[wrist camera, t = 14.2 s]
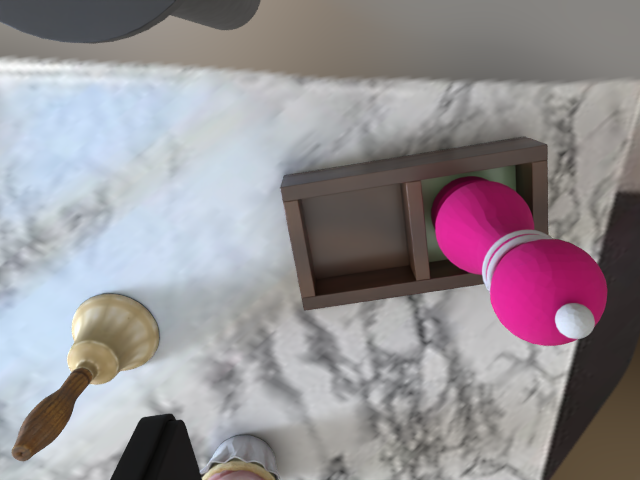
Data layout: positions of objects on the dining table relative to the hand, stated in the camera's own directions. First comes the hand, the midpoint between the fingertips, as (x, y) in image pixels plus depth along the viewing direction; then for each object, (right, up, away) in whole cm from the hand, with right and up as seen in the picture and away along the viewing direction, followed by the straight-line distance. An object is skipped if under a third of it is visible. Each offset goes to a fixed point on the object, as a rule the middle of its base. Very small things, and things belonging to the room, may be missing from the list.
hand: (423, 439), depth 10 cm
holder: (+6, +6, +34) cm, 35 cm away
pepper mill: (+11, +6, +33) cm, 36 cm away
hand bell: (-22, -5, +38) cm, 44 cm away
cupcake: (-10, -19, +44) cm, 49 cm away
